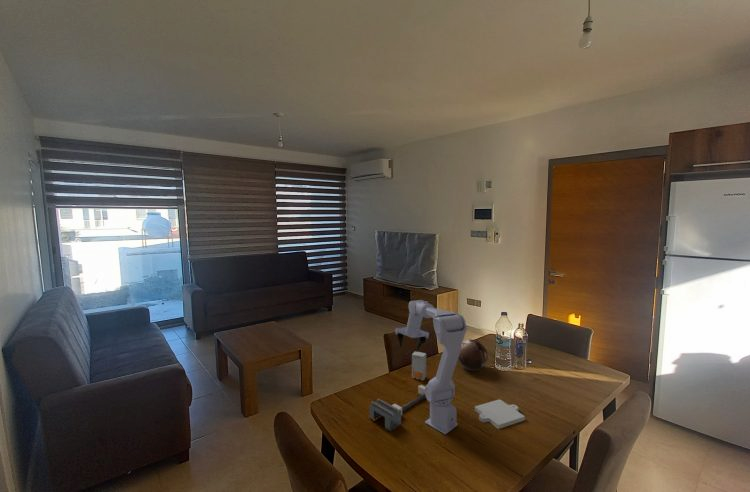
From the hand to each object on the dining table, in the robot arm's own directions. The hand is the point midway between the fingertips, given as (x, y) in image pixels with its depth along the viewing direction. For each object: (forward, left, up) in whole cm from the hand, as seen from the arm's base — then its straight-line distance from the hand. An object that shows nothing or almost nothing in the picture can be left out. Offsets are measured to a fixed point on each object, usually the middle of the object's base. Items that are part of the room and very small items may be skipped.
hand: (408, 346), depth 149 cm
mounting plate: (-38, -9, -20) cm, 44 cm away
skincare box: (+3, -10, -19) cm, 22 cm away
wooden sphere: (-10, -36, -19) cm, 42 cm away
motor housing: (-10, +26, -19) cm, 34 cm away
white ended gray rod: (-10, +11, -19) cm, 24 cm away
